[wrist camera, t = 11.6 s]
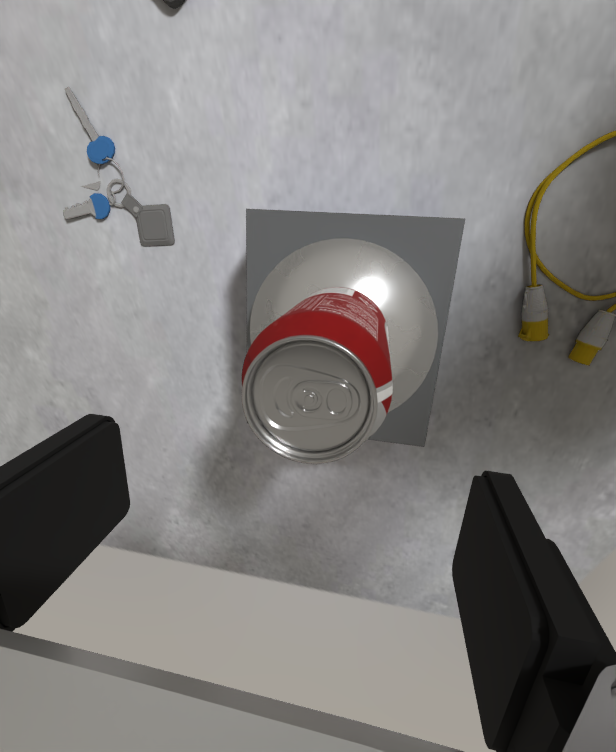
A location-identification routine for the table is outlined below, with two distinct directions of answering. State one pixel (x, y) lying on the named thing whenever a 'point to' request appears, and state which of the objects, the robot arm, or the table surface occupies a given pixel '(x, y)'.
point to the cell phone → (174, 3)
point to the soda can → (319, 377)
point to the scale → (396, 233)
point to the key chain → (149, 218)
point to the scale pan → (372, 278)
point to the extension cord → (560, 285)
